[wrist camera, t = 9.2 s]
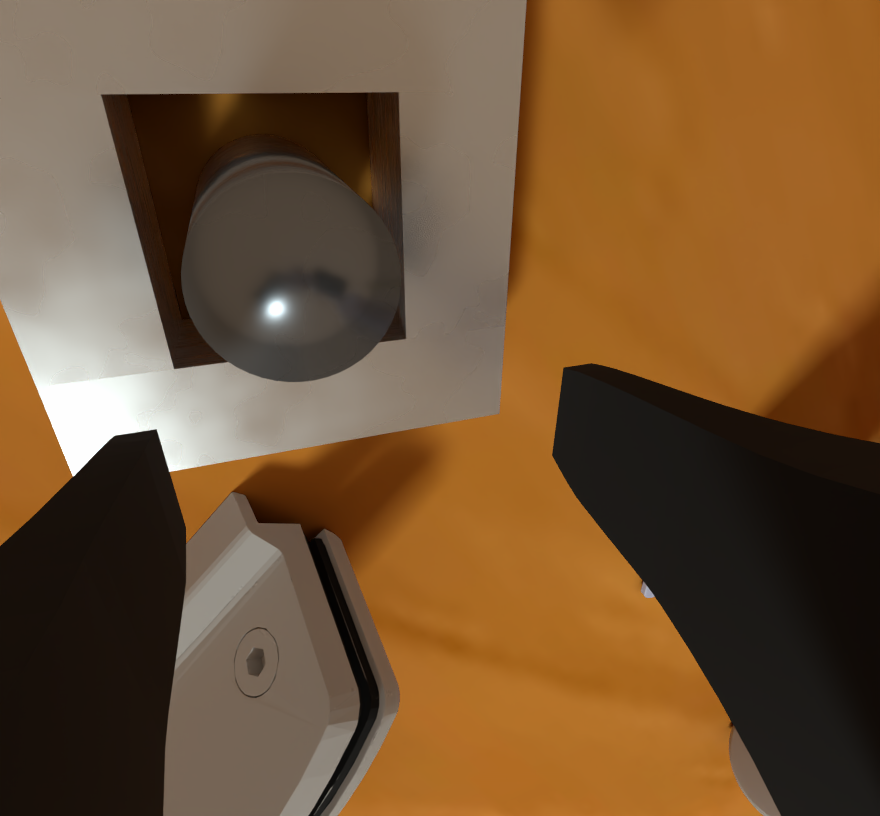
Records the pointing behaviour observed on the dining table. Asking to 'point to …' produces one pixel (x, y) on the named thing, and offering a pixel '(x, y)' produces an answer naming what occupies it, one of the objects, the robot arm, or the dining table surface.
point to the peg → (286, 263)
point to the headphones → (750, 777)
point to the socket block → (140, 242)
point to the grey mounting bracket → (272, 674)
